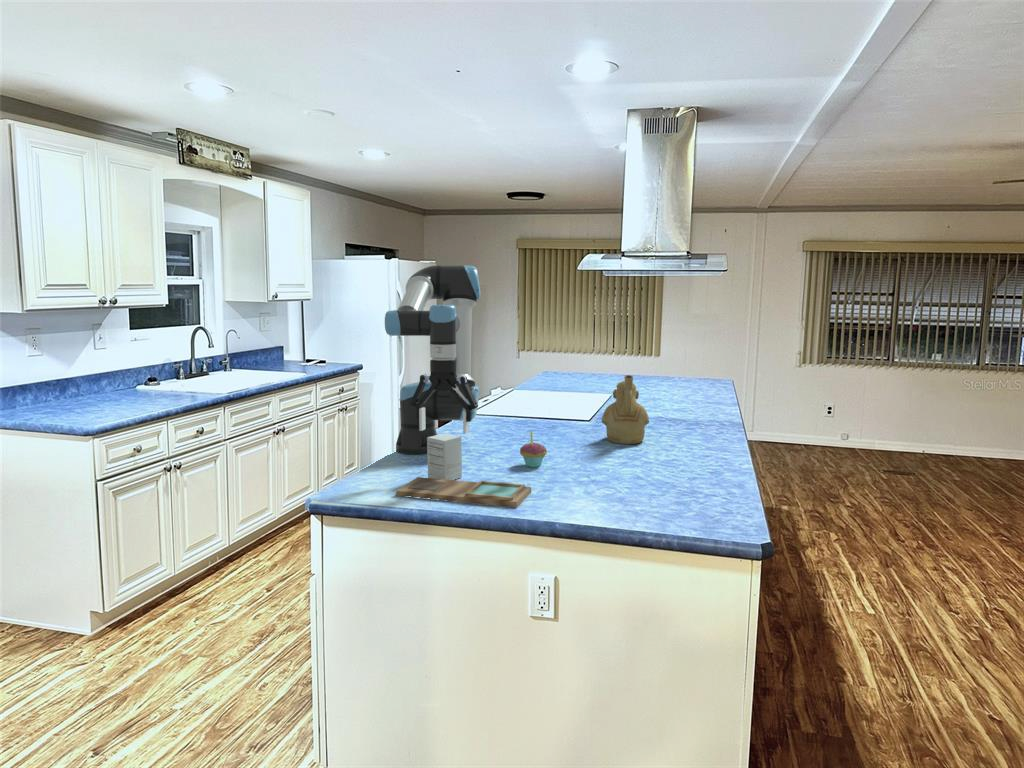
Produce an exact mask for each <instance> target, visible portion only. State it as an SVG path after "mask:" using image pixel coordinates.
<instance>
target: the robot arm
mask: <svg viewBox="0 0 1024 768" xmlns="http://www.w3.org/2000/svg"><path fill="white" fill-rule="evenodd" d="M479 279H480V277H479V272H478V269H477V267H475V266H473V265H464V264H463V265H430V266H426V267H424V268H422V269H420V270H417V271H416V272H415V273H413V274H412V275H411V276H410V277H409V278H408V280H407V282H406V283H405V284H406V285H405V293H404V295H403V297H402V299H401V302H400V304H399V306H398V308H397V310H396V309H394V310H388V311H386V313H385V315H384V329H385V332H386V333H385V334H387V335H388V336H397V337H404V336H405V337H408V336H410V337H416V336H417V337H418V336H419V337H420V336H421V337H427V336H429V357H430V358H431V359H430V361H429V370H430V374H429V375H428V374H426V373H424V374H421V375H420V376H419V381H418V382H412V383H408V384H405V385H403V386H402V387H401V388H400V390H399V392H400V393H399V411H400V412H399V414H400V415H399V417H400V430H399V433H398V435H397V439H396V443H395V451H396V452H397V453H399V454H402V455H408V456H409V455H412V456H419V455H421V456H422V455H427V437H431V436H435V435H438V433H437V429H436V421H461V422H462V434H467V433H469V432H470V424H469V423H470V422H471V421H472V420H473V419H475V417H476V415H477V411H478V408H479V399H480V387H479V386H478V385H476V380H475V379H474V378H473V377H472V334H473V333H472V329H473V327H472V325H473V324H472V323H473V321H472V320H473V308H474V307H476V305H477V302H478V300H481V297H482V296H481V295H482V294H481V286H480V280H479ZM430 300H443V301H442V304H432V305H430V307H429V310H424V309H425V308H426V304H427V302H428V301H430Z"/></svg>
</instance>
